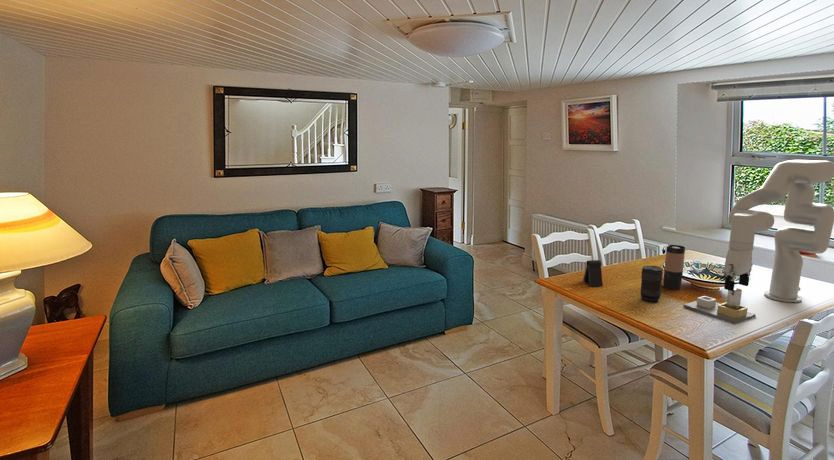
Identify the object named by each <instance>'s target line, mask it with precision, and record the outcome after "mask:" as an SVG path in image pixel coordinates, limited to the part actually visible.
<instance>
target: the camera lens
mask: <svg viewBox="0 0 834 460" xmlns="http://www.w3.org/2000/svg"><path fill="white" fill-rule="evenodd" d="M640 276H641V284H640V297H641V300H642V302H645V303H648V304H649V303H650V304H656V303H659V301H660V298H661V294H662V287H663V284H662V281H663V278H664V269H663V268H662V267H660V266H657V265H643V266H642V269H641V275H640Z"/></svg>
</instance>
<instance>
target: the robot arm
mask: <svg viewBox="0 0 834 460" xmlns="http://www.w3.org/2000/svg"><path fill="white" fill-rule="evenodd" d="M833 177H834V163H833V162H832V161H829V160H812V159H811V160H810V159H791V160H785V161H781V162H778V163H777V164H776V165H774V167H773V169H772V170H771V172H770V173H769V175H768V176H767V178H766V179H765V181H764V182H763V184H762V185H761V186H760V188H757V189H756V190H753V191H751V192H749V193H747V194H746V195H743V196H742V197H741V198H739V199H738V200H736V201H737V202H735V204H734V206H733V207H732V209H731V210H730V212H729V214H728V218H727V221H728V223H729V225H730V233H729V234H730V235H729V243H728V250H727V253H726V257H725V261H724V267H723V277H724V286H723V289H724V290H726V291H728V290H730V291H734V288H735V278H736V277H737V276H738V277H739V278H738V285H741V286H745V287H749V282H750V276H751V272H752V268H753V265H754V264H753V262H752V261H753V251H754V244H755V243H754V242H755V236H756V234H755V233H756V232H766V231H768V230H770V229H772V228H773V226H774V223H775V216H773V215H772V214H771V213H770V212H768V211H761V210H760V211H759V210H751V209H752V208H755V207H759V206H762V205H767V204H771V203H777V202H780V201H783V200H784V199H786V200H785V201H786V202H785V206H784V211H783V219H784V221H785V222H787V223H789V224H793V225H800V226H809V227H813V228H814V229H810V228H803V227H796V226H783V227H782V226H781V227H779V228H778V229H777V230H776V231H775V233H774V258H773V265H772V270H771V271H772V272H771V277H770V284H769V290H766V291H765V292H764V294H763V295H764V296H765V297H766V298H768V299H771V300H774V301H778V302H782V303H783V302H784V303H792V302H795V303H800V302H802V300H803V298H802V297H801V296H800V295H798V294H799V291H801V287H800V282H801V278H802V277H801V275H802V269H803V265H804V261H803V260H804V259H803V257H802V255H801V252H803V253H804V252H805V253H810V254H819V255H820V254H823V253H825V252H826V251H827V250H828V247H829V245H830V241H831V237H832V232H833V228H834V208H833V206H831V205H830V204H825V203H819V202H818V203H815V202H814V199H815V194H816V190H815V189H816V188H815V187H814V185H819V184H823V183H827V182H830V181H831V180H832V179H833ZM786 196H787V197H786Z"/></svg>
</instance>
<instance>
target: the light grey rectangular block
mask: <svg viewBox="0 0 834 460" xmlns="http://www.w3.org/2000/svg"><path fill="white" fill-rule="evenodd" d="M742 293H743V291H742V289H741V288H739V287H738V288H737V287H734V291H730V290H727V295H726V296H727V297H726V301H725V302H726V307H728V308H731V309H734V310H739V309H740V305H741V300H742Z"/></svg>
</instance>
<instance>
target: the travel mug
mask: <svg viewBox="0 0 834 460" xmlns="http://www.w3.org/2000/svg"><path fill="white" fill-rule="evenodd" d="M685 253H686V247H685V246H683V245H678V244H669V245H668V246H666V251H665V260H664V269H663V284H662V287H663V288H664V289H666V290H675V291H678V290H681V287H682V281H683V273H684V264H685Z"/></svg>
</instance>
